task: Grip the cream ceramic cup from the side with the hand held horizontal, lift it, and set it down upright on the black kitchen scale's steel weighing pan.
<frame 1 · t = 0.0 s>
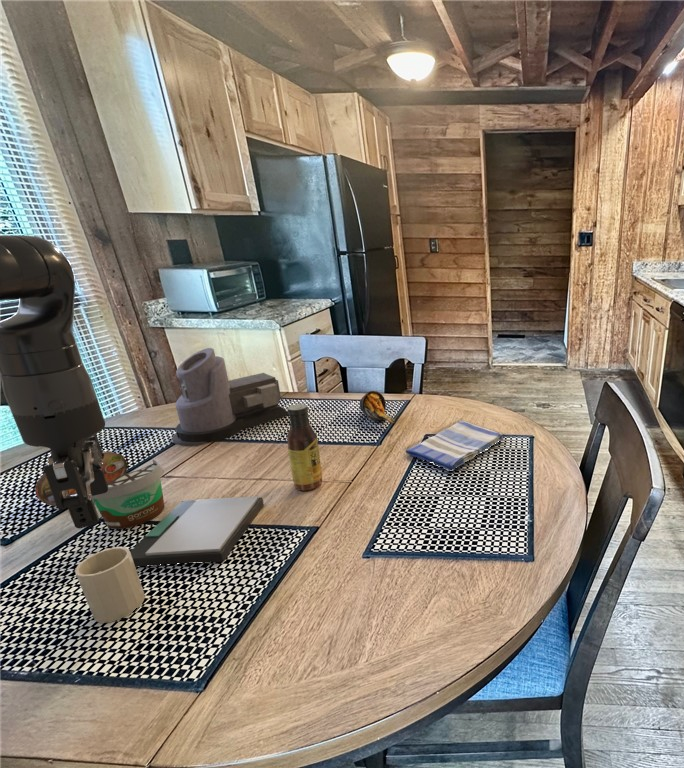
hand: (93, 508, 58), 19 cm above the table, tool pointing down, fingers open, 8 cm apart
fried shrimp in bowl: (378, 420, 134), on the table
cup: (120, 606, 66), on the table
kitchen scale: (202, 533, 82), on the table
food container: (145, 518, 86), on the table
dish towel: (456, 448, 118), on the table
juicer: (233, 425, 127), on the table
sauce bottle: (309, 485, 99), on the table
tin: (89, 494, 93), on the table
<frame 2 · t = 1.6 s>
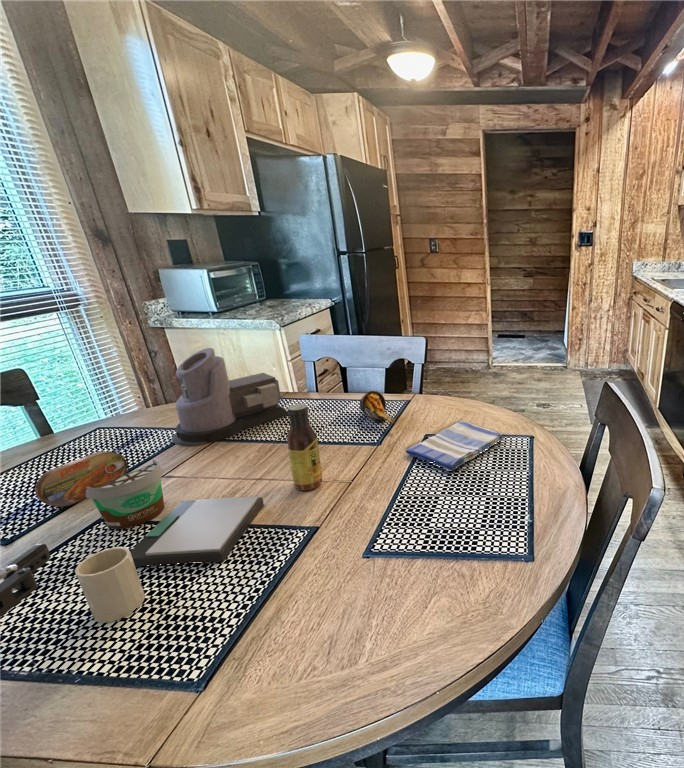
hand: (3, 552, 49), 20 cm above the table, tool horizontal, fingers open, 8 cm apart
nothing on the table moved.
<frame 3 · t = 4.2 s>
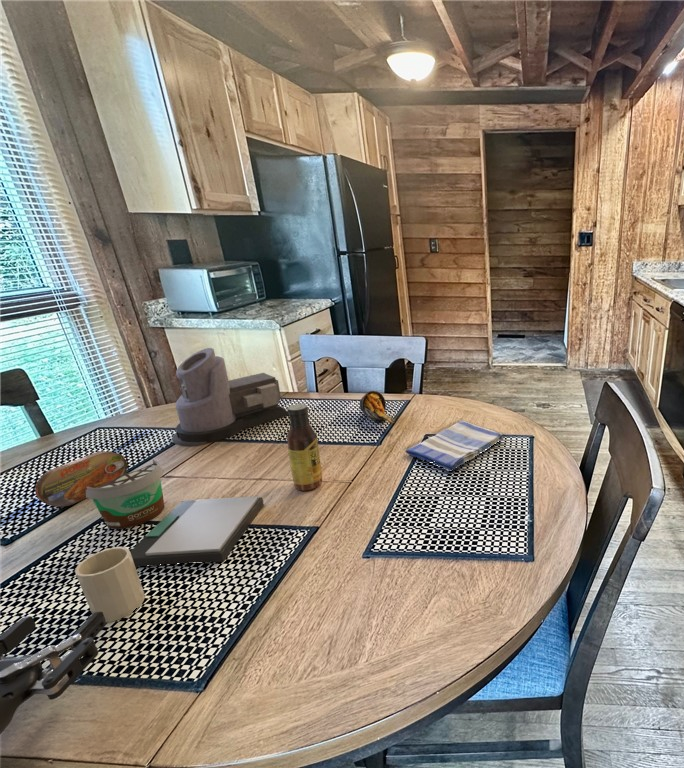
hand: (66, 618, 57), 6 cm above the table, tool horizontal, fingers open, 8 cm apart
nothing on the table moved.
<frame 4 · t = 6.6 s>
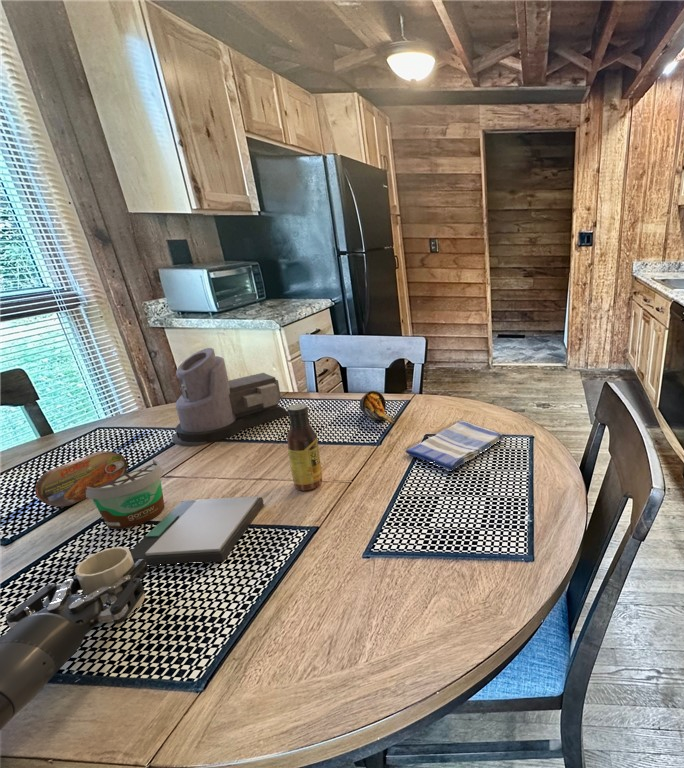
hand: (120, 564, 66), 6 cm above the table, tool horizontal, fingers closed on cup, 6 cm apart
cup: (120, 606, 66), on the table, touching gripper
everything else where it was.
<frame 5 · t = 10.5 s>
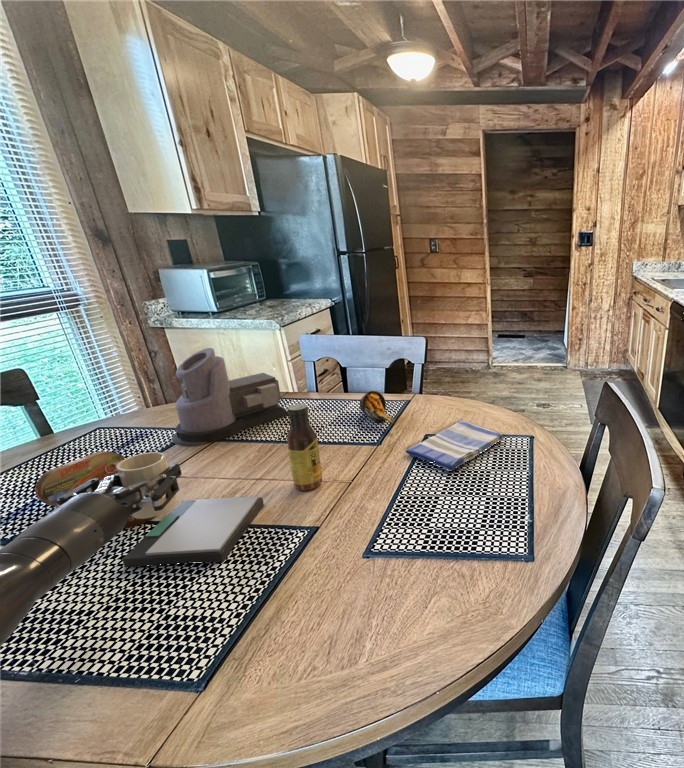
hand: (156, 469, 71), 18 cm above the table, tool horizontal, fingers closed on cup, 6 cm apart
cup: (155, 507, 70), point 12 cm above the table, touching gripper
everything else where it was.
when the fingers open (9 cm above the table, at t = 14.7 s): cup stays where it is, resting on kitchen scale.
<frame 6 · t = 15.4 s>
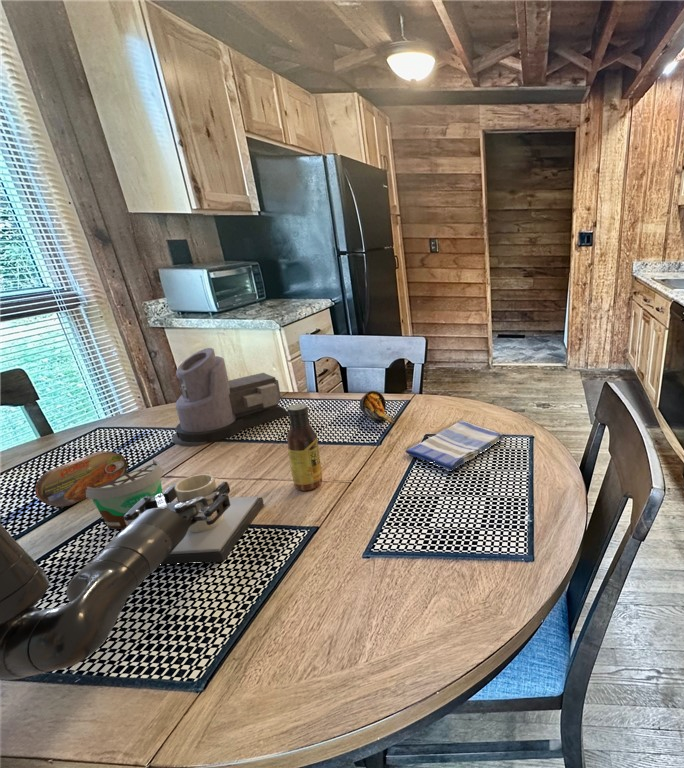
hand: (202, 486, 81), 9 cm above the table, tool horizontal, fingers open, 8 cm apart
cup: (205, 522, 81), point 3 cm above the table, touching kitchen scale
everything else where it was.
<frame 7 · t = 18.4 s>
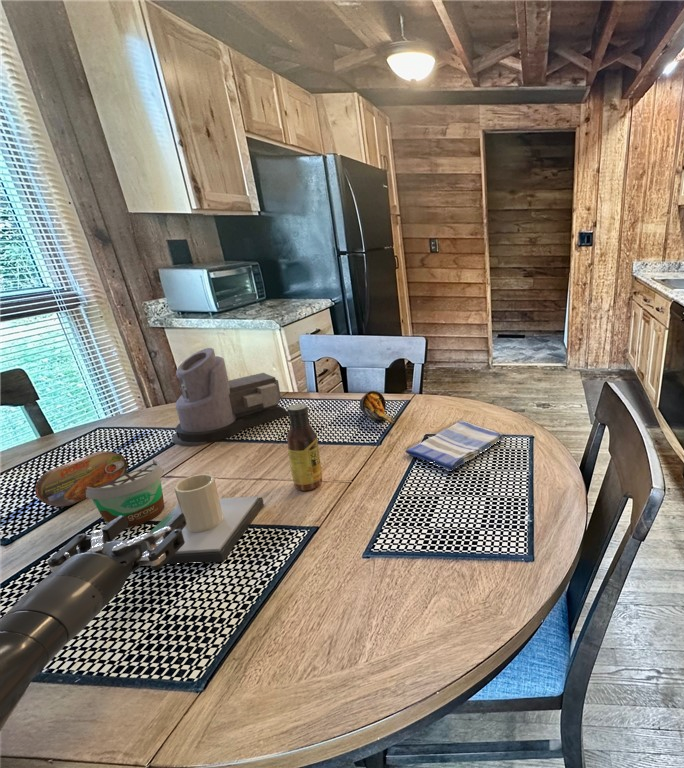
hand: (153, 518, 68), 12 cm above the table, tool horizontal, fingers open, 8 cm apart
nothing on the table moved.
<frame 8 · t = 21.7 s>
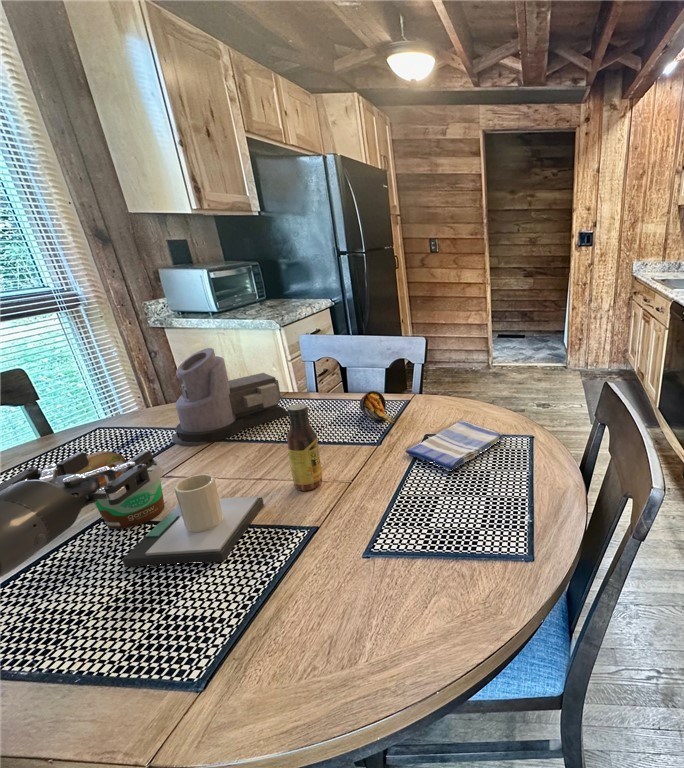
hand: (117, 457, 60), 25 cm above the table, tool horizontal, fingers open, 8 cm apart
nothing on the table moved.
at the end: cup inside the target area on the kitchen scale (0.1 cm from its centre), point 2.6 cm above the kitchen scale's base; cup tilted 0°; the gripper is holding nothing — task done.
